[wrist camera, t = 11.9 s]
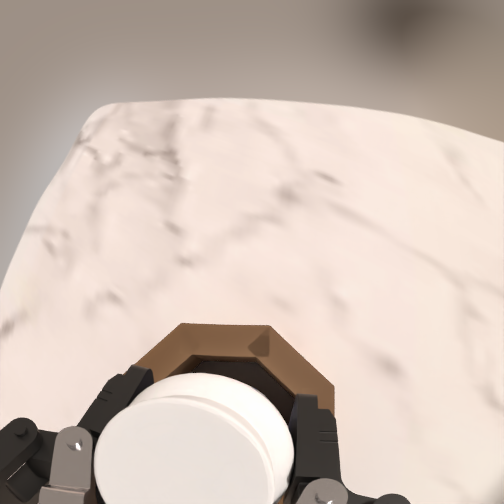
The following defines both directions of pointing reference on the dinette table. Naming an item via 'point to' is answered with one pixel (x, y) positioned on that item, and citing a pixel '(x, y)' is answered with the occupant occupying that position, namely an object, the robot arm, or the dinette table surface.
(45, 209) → the dinette table surface
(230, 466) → the pill bottle
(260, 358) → the walnut ring
